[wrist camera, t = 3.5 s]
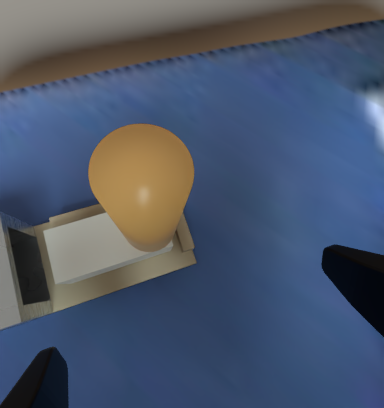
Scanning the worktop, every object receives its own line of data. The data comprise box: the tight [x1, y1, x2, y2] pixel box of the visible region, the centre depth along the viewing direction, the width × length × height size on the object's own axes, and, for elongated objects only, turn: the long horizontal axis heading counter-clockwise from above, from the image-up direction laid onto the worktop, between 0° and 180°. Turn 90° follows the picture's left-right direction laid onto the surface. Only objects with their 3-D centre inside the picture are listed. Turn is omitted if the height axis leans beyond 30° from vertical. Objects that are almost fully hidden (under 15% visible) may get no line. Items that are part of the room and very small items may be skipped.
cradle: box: [34, 203, 197, 312], centre depth 20 cm, size 10×6×2 cm, turn 109°
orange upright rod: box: [43, 124, 194, 284], centre depth 14 cm, size 8×3×12 cm, turn 109°
